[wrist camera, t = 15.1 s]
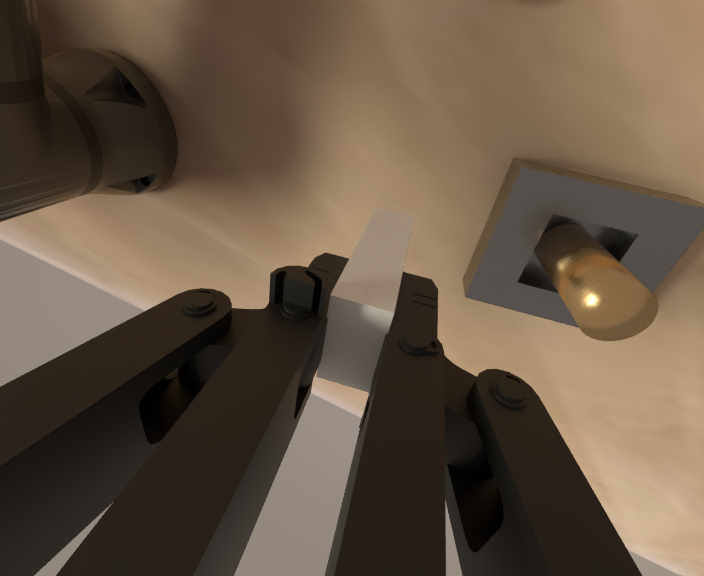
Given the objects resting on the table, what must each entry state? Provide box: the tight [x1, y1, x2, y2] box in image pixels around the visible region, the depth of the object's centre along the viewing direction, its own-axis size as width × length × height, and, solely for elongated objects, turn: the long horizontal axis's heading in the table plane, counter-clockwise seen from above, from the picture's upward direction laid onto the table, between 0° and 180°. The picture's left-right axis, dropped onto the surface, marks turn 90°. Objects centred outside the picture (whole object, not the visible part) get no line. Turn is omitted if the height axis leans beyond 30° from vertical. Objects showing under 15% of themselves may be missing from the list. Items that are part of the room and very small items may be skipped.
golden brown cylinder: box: [536, 224, 658, 341], centre depth 30 cm, size 5×5×12 cm
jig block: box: [463, 158, 704, 327], centre depth 34 cm, size 16×14×4 cm
